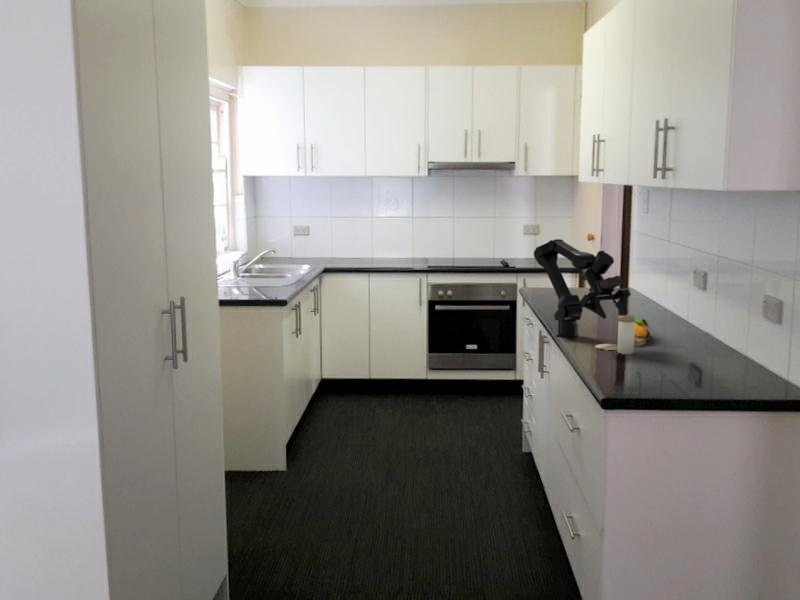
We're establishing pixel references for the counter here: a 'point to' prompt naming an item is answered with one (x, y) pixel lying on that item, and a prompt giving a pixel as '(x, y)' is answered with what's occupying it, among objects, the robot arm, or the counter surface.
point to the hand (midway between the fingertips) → (615, 316)
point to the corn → (641, 328)
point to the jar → (626, 334)
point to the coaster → (607, 346)
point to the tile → (639, 341)
